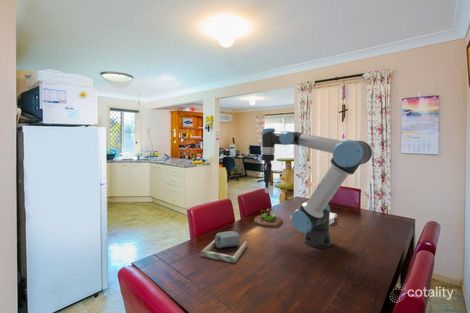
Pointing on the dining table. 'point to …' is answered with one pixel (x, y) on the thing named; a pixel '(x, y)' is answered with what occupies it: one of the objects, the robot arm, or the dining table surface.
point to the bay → (219, 256)
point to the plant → (268, 220)
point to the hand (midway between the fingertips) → (267, 192)
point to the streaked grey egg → (227, 239)
